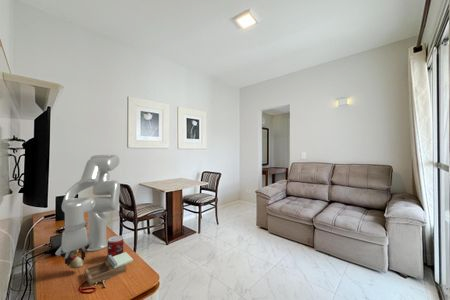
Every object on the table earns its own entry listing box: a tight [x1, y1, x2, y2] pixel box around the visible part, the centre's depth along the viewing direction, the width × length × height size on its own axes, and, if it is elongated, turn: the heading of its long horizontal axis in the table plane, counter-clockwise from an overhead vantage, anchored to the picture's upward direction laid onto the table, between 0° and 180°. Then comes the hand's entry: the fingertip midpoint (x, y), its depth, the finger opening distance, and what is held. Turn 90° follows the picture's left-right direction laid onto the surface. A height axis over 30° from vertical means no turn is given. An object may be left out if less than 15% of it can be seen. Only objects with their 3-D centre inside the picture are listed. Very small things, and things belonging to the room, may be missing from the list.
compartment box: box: [84, 259, 127, 287], centre depth 93 cm, size 12×15×3 cm
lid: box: [107, 251, 134, 268], centre depth 98 cm, size 11×9×2 cm
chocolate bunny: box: [68, 249, 84, 270], centre depth 94 cm, size 6×8×10 cm
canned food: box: [107, 235, 124, 257], centre depth 108 cm, size 8×8×11 cm
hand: (75, 261), depth 94 cm, fingers closed on chocolate bunny, 5 cm apart
